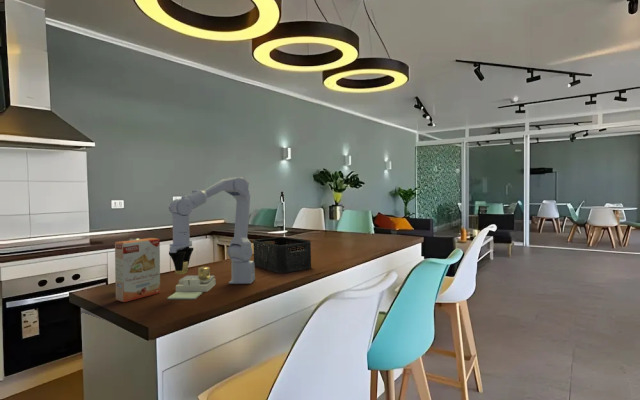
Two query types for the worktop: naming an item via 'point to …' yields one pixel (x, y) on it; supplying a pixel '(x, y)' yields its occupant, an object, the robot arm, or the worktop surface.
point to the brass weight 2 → (203, 272)
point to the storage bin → (282, 254)
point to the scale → (195, 285)
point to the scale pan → (197, 278)
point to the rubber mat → (185, 295)
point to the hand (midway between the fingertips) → (182, 269)
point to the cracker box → (137, 268)
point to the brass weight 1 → (185, 268)
